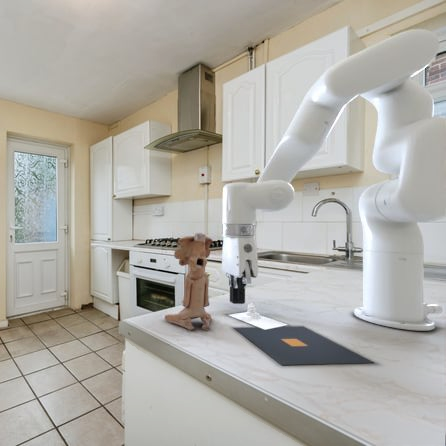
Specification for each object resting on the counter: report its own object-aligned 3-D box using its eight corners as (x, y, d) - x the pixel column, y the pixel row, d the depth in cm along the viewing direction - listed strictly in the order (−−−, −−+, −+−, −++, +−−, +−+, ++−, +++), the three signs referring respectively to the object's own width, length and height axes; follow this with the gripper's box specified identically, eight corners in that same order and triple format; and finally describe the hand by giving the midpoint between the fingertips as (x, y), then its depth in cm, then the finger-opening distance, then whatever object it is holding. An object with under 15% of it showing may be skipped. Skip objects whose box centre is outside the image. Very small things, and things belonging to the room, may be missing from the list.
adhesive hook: (252, 315, 65) (252, 302, 65) (262, 319, 63) (262, 305, 63) (243, 317, 64) (243, 303, 64) (252, 320, 62) (252, 306, 62)
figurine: (210, 318, 63) (210, 231, 63) (220, 333, 55) (220, 233, 55) (163, 317, 64) (163, 231, 64) (167, 331, 56) (167, 233, 56)
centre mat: (303, 326, 58) (303, 326, 58) (374, 363, 43) (374, 362, 43) (233, 328, 57) (233, 327, 57) (281, 365, 42) (281, 364, 42)
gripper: (270, 232, 63) (269, 312, 63) (237, 230, 78) (236, 295, 78) (238, 232, 63) (237, 312, 63) (211, 230, 78) (210, 295, 78)
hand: (237, 302), depth 70 cm, fingers closed
